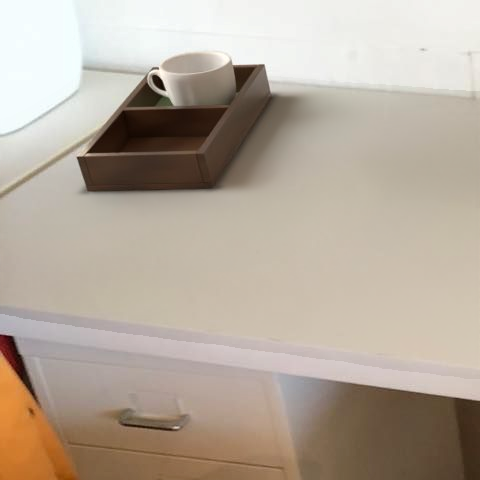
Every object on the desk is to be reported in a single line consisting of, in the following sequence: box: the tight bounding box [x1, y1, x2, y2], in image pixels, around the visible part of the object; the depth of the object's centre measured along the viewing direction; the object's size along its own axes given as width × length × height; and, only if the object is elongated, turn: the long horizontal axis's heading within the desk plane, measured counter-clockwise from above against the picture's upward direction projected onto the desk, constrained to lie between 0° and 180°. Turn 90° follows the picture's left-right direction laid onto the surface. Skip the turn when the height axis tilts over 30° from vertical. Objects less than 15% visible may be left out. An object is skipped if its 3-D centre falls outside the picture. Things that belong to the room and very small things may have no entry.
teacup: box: [147, 49, 236, 106], centre depth 144 cm, size 10×8×5 cm
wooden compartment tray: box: [76, 63, 272, 192], centre depth 141 cm, size 13×25×4 cm, turn 178°
